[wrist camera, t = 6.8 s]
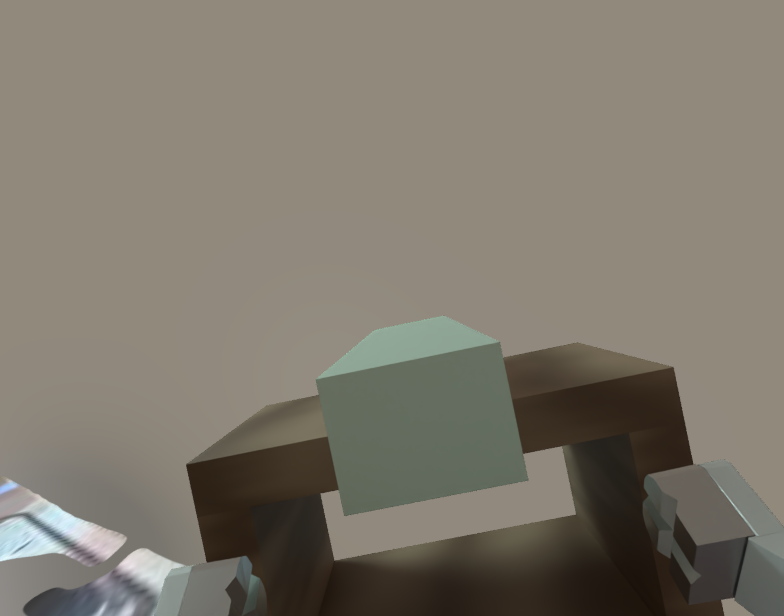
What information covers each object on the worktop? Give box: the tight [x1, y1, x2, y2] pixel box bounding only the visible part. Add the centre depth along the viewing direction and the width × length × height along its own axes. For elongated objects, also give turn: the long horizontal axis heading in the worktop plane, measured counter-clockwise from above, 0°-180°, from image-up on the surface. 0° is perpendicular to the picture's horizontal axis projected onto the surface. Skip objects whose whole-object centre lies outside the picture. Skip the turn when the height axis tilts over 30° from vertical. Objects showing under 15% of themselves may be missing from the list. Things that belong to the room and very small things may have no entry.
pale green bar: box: [316, 316, 528, 516], centre depth 21 cm, size 4×19×3 cm, turn 178°
